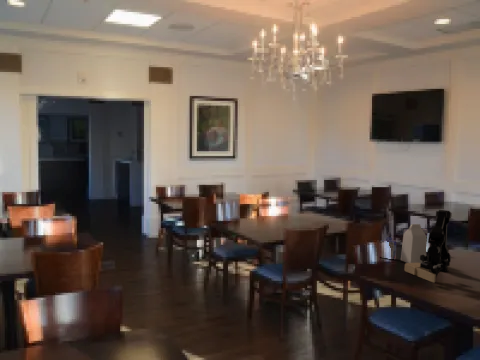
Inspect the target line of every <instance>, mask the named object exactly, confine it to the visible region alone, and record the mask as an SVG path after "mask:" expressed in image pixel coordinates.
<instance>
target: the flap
mask: <svg viewBox="0 0 480 360" xmlns="http://www.w3.org/2000/svg"><path fill="white" fill-rule="evenodd" d="M415 277H419V278H421V279H423V280H426V281H428V282H431V283H436V278H437V277H436V274H433V273H432V272H431V271H429V272H428V271H425V270H423V269H420V268H417V275H415ZM435 277H436V278H435Z"/></svg>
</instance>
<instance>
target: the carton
mask: <svg viewBox="0 0 480 360" xmlns="http://www.w3.org/2000/svg"><path fill="white" fill-rule="evenodd" d="M420 264H421V263H406V262H405V264H404V272H406V273H409V274H411V275H413V276H416V275H417V268H420V269H423V270H425V271H428V272H430V269H425V268H422V267H420Z"/></svg>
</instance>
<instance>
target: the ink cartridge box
mask: <svg viewBox="0 0 480 360" xmlns="http://www.w3.org/2000/svg"><path fill="white" fill-rule="evenodd" d="M392 239H393V238H392V237H386V239H385V240H384V239H382V240H380V242H384V241H387V242H389V246H390V248H391V257H392V259H394V258H395V259H396V254H397V241H394V240H392ZM395 259H394V260H395Z"/></svg>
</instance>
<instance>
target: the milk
mask: <svg viewBox="0 0 480 360" xmlns="http://www.w3.org/2000/svg"><path fill="white" fill-rule="evenodd" d="M407 229H408V230H407V231H406V232H405V233H404V232H403V234H404V235H402V236H403V237H402V244H401V245H402V247H401V253H400V261H402V262H404V263H405V264H406V263H422V261H421V260H420V255H425V256H427V249H426V235H425V233H424V232H423V230H422V229H423V228H422V226H421V224H420V223H411V225H410V226H409V227H408V228H407ZM424 262H427V261H424Z"/></svg>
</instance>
